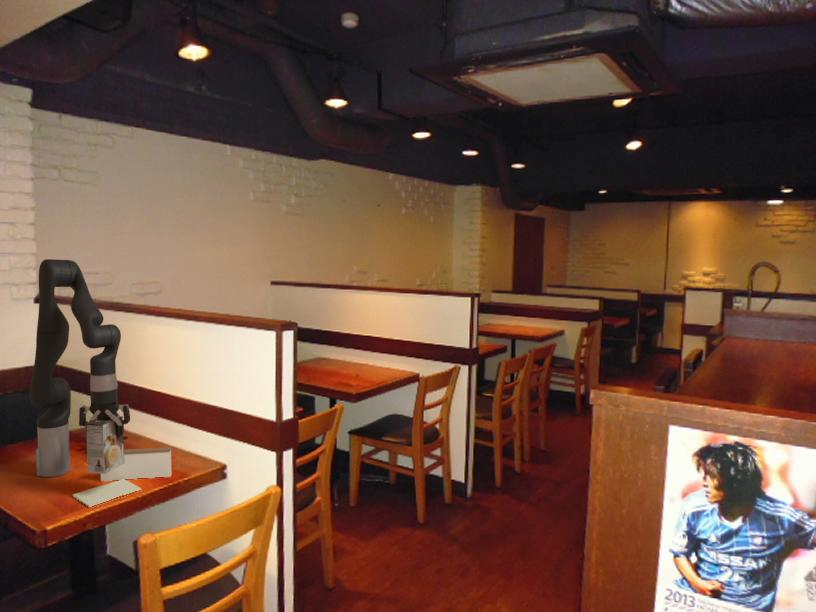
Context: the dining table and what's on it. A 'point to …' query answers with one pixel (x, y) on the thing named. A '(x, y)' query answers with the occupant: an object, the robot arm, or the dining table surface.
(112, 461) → the coffee box
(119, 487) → the mat
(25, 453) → the dining table surface
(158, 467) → the flat box
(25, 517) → the dining table surface
